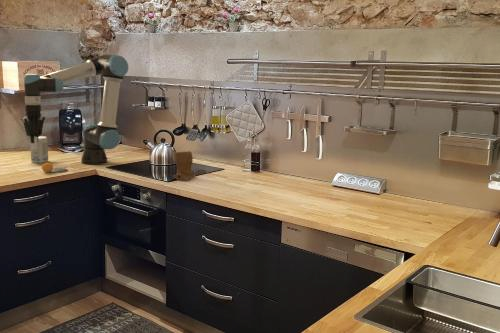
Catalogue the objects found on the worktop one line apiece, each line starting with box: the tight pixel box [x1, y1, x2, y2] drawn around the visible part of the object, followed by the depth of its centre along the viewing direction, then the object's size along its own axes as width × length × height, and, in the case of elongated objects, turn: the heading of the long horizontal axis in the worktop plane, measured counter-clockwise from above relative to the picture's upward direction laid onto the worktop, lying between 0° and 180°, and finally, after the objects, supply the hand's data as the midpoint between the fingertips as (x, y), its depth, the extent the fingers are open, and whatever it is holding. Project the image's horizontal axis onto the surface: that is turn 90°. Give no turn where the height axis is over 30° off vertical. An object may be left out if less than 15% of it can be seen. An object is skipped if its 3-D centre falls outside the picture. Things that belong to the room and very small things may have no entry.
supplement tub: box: [29, 135, 49, 164], centre depth 310 cm, size 10×10×15 cm
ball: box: [41, 162, 54, 174], centre depth 284 cm, size 6×6×6 cm
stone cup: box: [172, 150, 198, 181], centre depth 284 cm, size 15×12×15 cm
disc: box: [48, 167, 69, 174], centre depth 290 cm, size 12×12×1 cm
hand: (34, 148), depth 276 cm, fingers closed
